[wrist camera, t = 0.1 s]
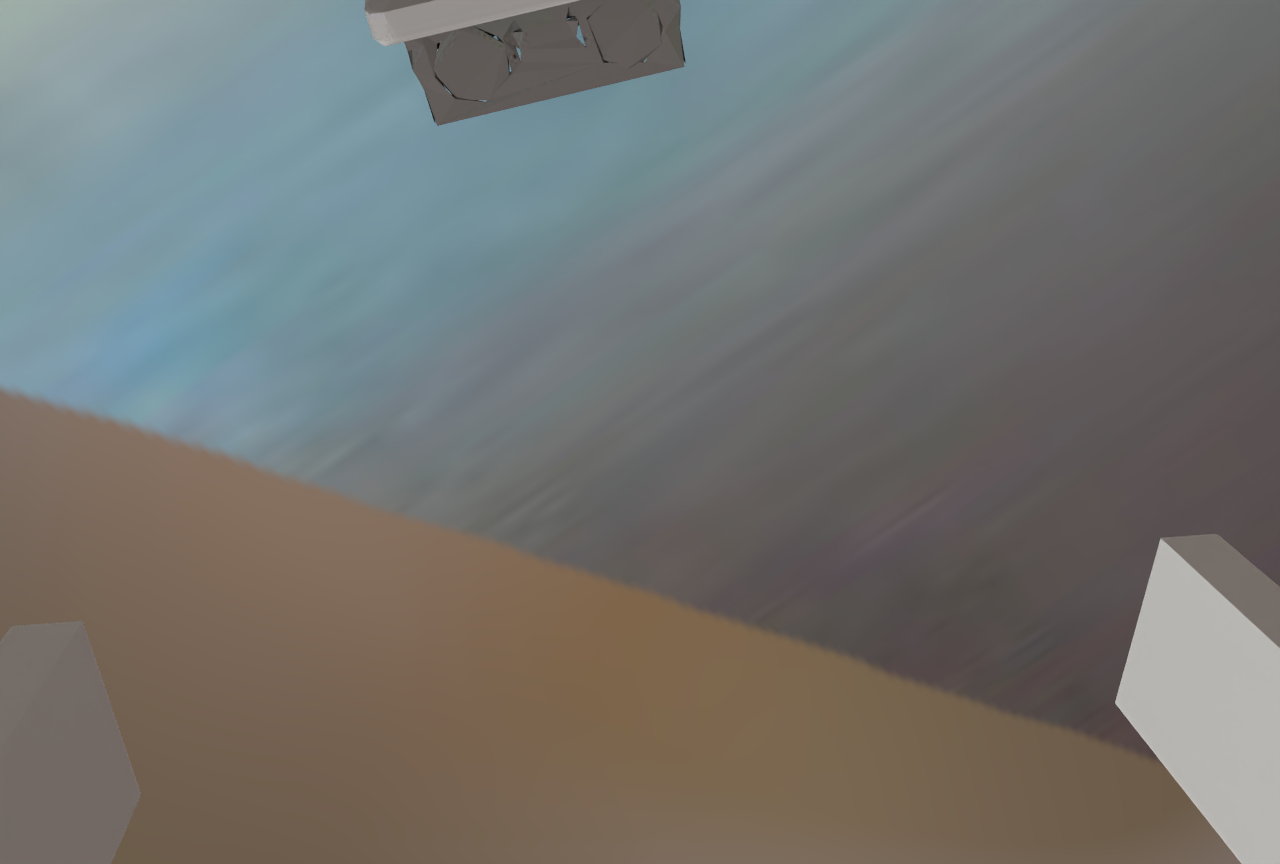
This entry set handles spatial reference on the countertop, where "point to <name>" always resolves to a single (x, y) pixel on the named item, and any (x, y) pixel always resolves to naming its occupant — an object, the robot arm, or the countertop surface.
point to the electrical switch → (525, 47)
